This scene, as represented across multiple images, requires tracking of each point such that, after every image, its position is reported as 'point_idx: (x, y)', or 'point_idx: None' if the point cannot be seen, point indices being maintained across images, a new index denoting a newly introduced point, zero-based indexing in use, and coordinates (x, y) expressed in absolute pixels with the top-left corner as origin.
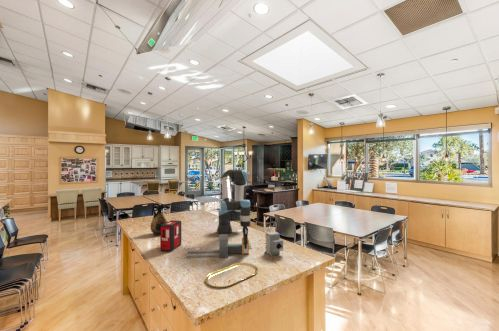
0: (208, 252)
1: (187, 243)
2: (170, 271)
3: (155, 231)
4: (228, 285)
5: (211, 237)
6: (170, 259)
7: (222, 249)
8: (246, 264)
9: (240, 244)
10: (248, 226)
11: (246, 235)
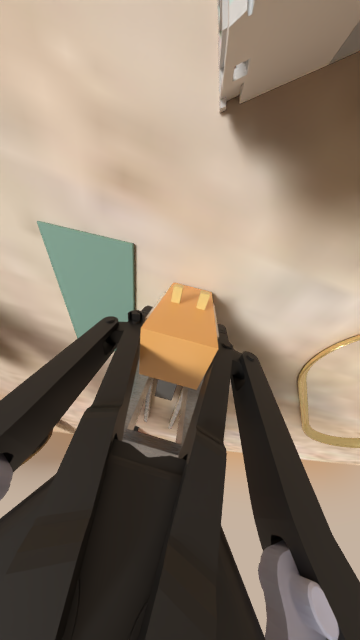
0: (151, 393)
1: (88, 403)
2: (228, 445)
3: (51, 432)
4: None
5: (24, 357)
6: (174, 434)
7: None
8: (335, 347)
9: (73, 291)
10: None
11: (297, 491)
